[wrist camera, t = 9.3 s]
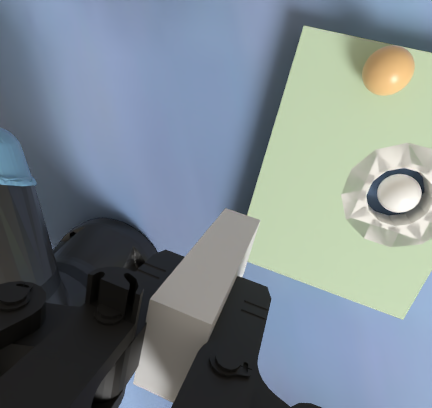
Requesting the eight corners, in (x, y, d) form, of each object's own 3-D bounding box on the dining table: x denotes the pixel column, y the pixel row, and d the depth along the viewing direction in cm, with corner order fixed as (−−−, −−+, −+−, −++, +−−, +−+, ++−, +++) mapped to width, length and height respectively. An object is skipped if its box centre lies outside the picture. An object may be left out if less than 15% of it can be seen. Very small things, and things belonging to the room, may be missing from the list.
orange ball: (352, 89, 26) (357, 88, 23) (370, 44, 25) (377, 36, 22) (396, 100, 26) (406, 101, 22) (416, 54, 24) (430, 48, 21)
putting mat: (240, 245, 37) (234, 256, 34) (305, 32, 28) (303, 25, 26) (396, 302, 33) (403, 319, 31) (521, 79, 25) (543, 76, 22)
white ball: (391, 204, 31) (363, 200, 30) (407, 171, 30) (378, 165, 29) (419, 221, 28) (389, 217, 27) (438, 185, 27) (408, 180, 26)
